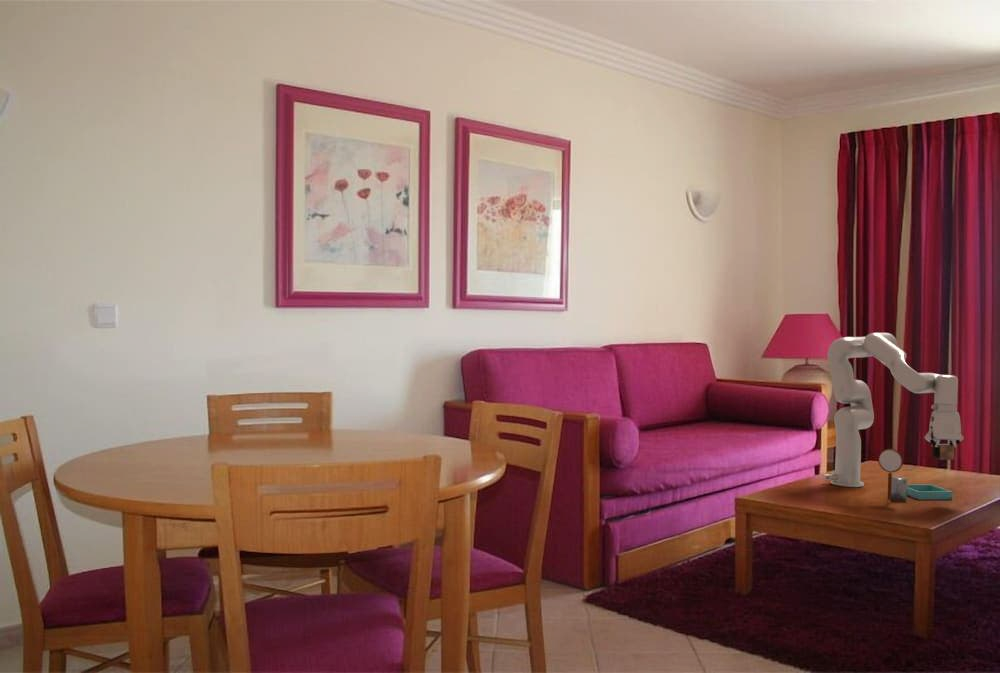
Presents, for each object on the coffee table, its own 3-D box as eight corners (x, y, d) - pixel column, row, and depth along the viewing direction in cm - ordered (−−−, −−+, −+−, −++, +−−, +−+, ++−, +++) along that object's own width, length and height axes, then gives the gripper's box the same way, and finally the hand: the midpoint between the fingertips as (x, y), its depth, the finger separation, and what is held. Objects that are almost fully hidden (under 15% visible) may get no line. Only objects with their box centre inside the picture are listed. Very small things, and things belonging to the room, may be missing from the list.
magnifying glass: (902, 504, 326) (903, 450, 325) (900, 505, 325) (902, 450, 324) (877, 500, 332) (879, 447, 331) (876, 501, 330) (877, 447, 330)
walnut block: (940, 459, 326) (941, 446, 326) (933, 457, 331) (933, 443, 331) (953, 459, 326) (954, 446, 326) (945, 457, 331) (946, 443, 331)
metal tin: (895, 501, 332) (895, 479, 331) (886, 497, 338) (887, 476, 337) (910, 501, 332) (911, 479, 332) (901, 497, 338) (902, 476, 338)
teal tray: (917, 499, 335) (918, 491, 335) (898, 492, 348) (898, 484, 348) (952, 499, 336) (952, 491, 336) (931, 492, 350) (931, 484, 349)
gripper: (929, 409, 324) (927, 459, 324) (973, 410, 325) (971, 459, 326) (917, 407, 331) (915, 455, 332) (961, 407, 333) (959, 455, 333)
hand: (943, 457), depth 329 cm, fingers closed on walnut block, 5 cm apart
